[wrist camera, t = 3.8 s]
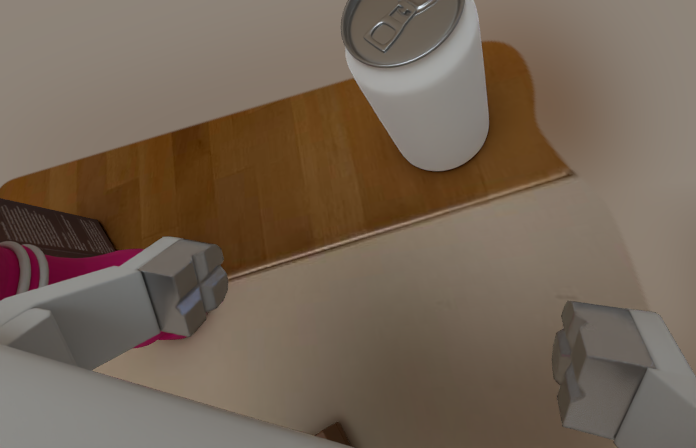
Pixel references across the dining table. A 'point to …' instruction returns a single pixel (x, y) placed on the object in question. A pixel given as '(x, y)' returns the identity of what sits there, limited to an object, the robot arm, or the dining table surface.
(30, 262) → the pepper mill
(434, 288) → the dining table surface
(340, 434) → the tray
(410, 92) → the can
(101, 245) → the box
